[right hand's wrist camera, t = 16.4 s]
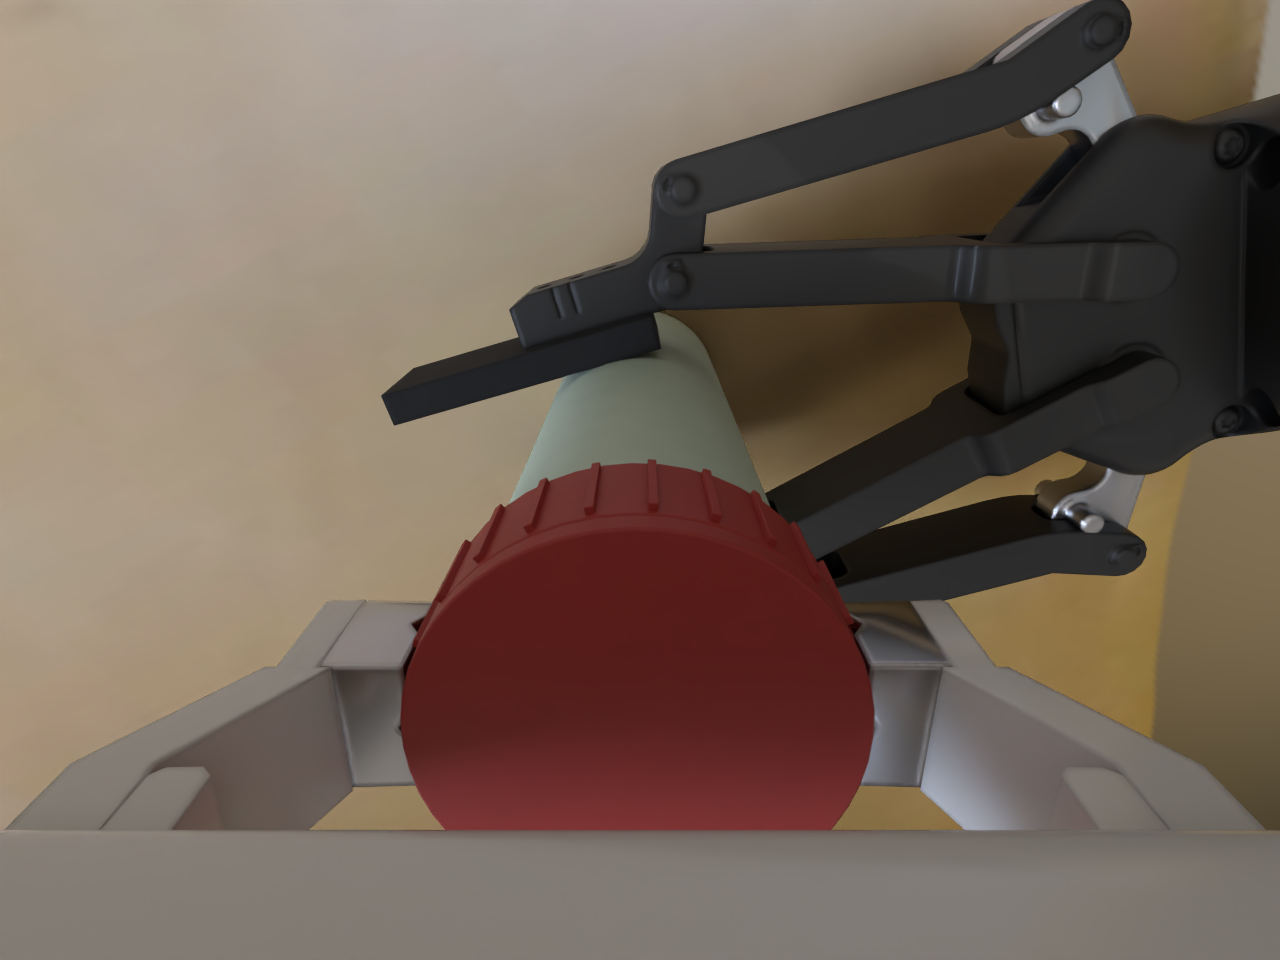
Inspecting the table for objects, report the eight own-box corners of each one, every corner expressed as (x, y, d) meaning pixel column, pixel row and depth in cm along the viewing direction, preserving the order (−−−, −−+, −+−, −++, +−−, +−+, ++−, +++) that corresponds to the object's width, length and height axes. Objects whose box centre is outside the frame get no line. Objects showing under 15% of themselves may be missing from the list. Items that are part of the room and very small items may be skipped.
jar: (594, 288, 23) (501, 472, 8) (735, 338, 24) (903, 602, 9) (550, 425, 25) (402, 798, 10) (683, 470, 26) (744, 888, 10)
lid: (364, 680, 11) (306, 784, 9) (586, 368, 9) (571, 415, 7) (676, 852, 12) (682, 974, 10) (923, 605, 10) (986, 697, 8)
